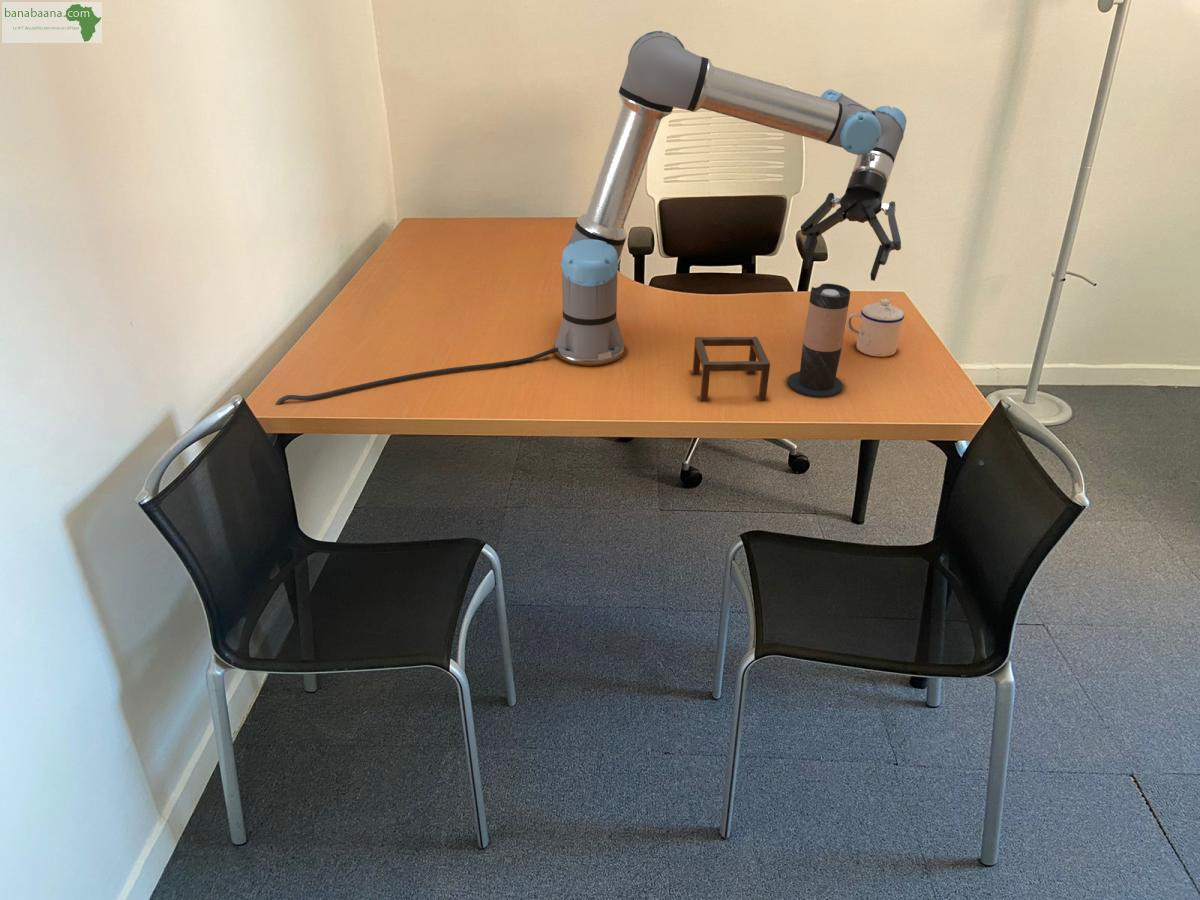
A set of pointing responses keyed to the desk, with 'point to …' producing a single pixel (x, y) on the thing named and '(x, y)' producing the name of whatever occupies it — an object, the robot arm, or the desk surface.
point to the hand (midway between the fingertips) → (838, 271)
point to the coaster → (796, 386)
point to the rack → (747, 366)
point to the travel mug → (823, 336)
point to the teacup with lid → (878, 328)
